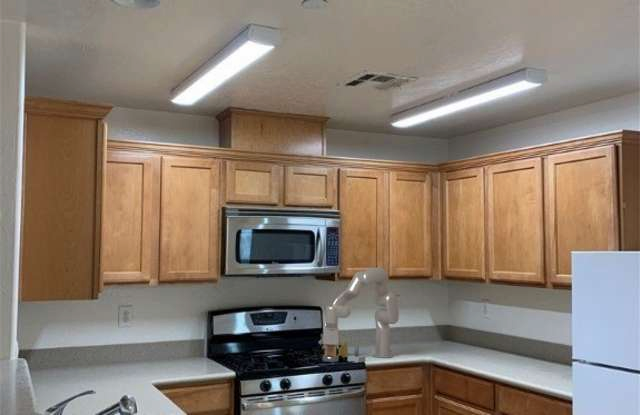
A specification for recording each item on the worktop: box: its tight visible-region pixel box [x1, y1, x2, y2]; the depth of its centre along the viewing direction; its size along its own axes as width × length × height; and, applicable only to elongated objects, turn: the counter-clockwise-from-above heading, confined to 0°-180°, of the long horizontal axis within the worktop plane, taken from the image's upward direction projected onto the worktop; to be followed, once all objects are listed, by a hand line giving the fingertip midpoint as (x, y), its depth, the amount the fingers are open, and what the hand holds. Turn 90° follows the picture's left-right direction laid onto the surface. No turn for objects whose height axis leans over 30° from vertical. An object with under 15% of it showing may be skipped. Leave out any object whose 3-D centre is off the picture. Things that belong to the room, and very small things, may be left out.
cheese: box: [338, 339, 349, 358], centre depth 405 cm, size 10×11×10 cm
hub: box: [322, 354, 340, 363], centre depth 385 cm, size 10×10×8 cm
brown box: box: [325, 345, 337, 357], centre depth 385 cm, size 7×7×6 cm
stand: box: [347, 345, 366, 363], centre depth 386 cm, size 8×8×9 cm
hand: (330, 354), depth 385 cm, fingers closed on brown box, 6 cm apart
